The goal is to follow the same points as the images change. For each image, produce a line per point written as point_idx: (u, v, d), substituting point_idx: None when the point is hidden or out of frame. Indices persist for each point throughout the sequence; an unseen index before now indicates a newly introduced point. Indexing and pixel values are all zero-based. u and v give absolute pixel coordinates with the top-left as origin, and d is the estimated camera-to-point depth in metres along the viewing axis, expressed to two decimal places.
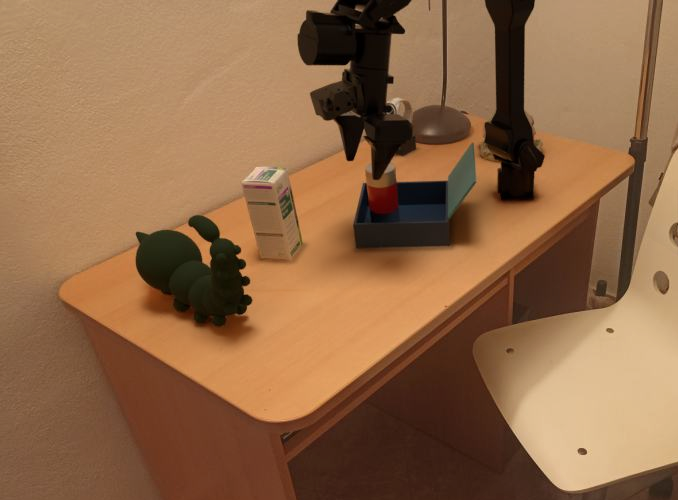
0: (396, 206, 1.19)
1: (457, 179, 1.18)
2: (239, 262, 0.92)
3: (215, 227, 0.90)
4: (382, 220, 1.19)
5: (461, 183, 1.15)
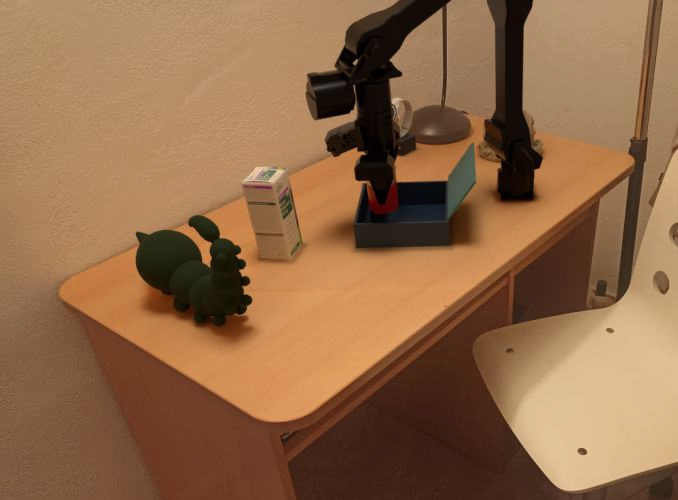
0: (396, 206, 1.19)
1: (457, 179, 1.18)
2: (239, 262, 0.92)
3: (215, 227, 0.90)
4: (382, 220, 1.19)
5: (461, 183, 1.15)
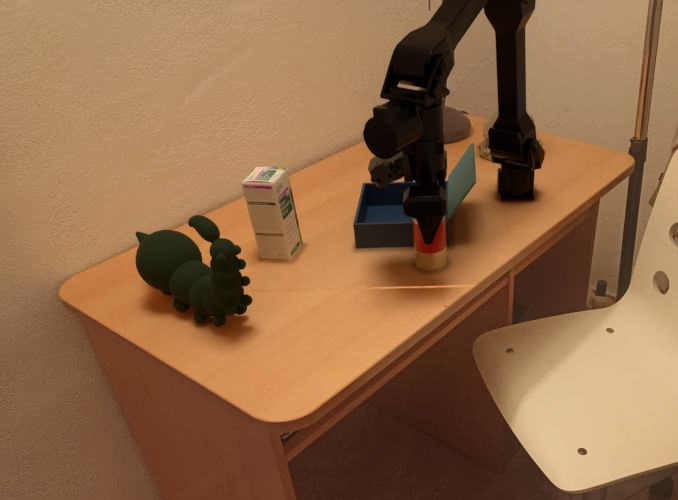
0: (444, 245, 1.09)
1: (457, 179, 1.18)
2: (239, 262, 0.92)
3: (215, 227, 0.90)
4: (428, 260, 1.09)
5: (461, 183, 1.15)
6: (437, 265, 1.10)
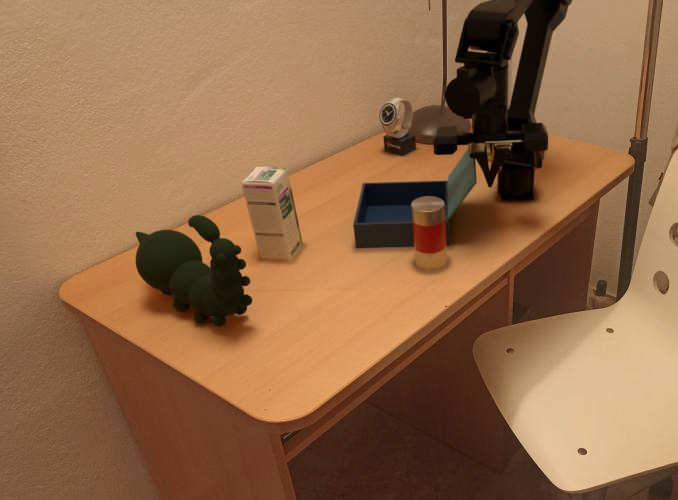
0: (444, 245, 1.09)
1: (457, 179, 1.18)
2: (239, 262, 0.92)
3: (215, 227, 0.90)
4: (428, 260, 1.09)
5: (461, 183, 1.15)
6: (437, 265, 1.10)
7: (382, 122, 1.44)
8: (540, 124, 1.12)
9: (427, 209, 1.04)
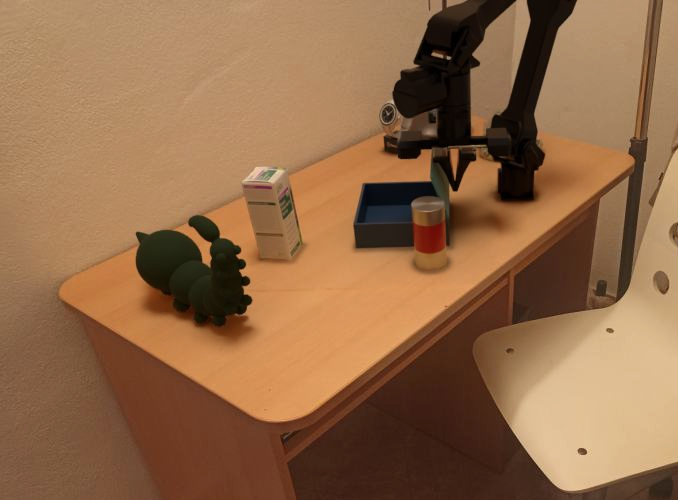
0: (444, 245, 1.09)
1: None
2: (239, 262, 0.92)
3: (215, 227, 0.90)
4: (428, 260, 1.09)
5: None
6: (437, 265, 1.10)
7: (382, 122, 1.44)
8: (504, 129, 1.13)
9: (427, 209, 1.04)
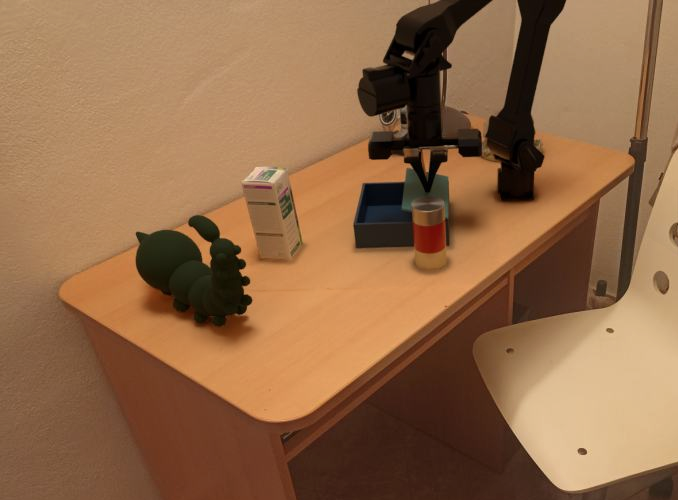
0: (444, 245, 1.09)
1: (430, 191, 1.19)
2: (239, 262, 0.92)
3: (215, 227, 0.90)
4: (428, 260, 1.09)
5: None
6: (437, 265, 1.10)
7: (382, 122, 1.44)
8: (475, 130, 1.13)
9: (427, 209, 1.04)
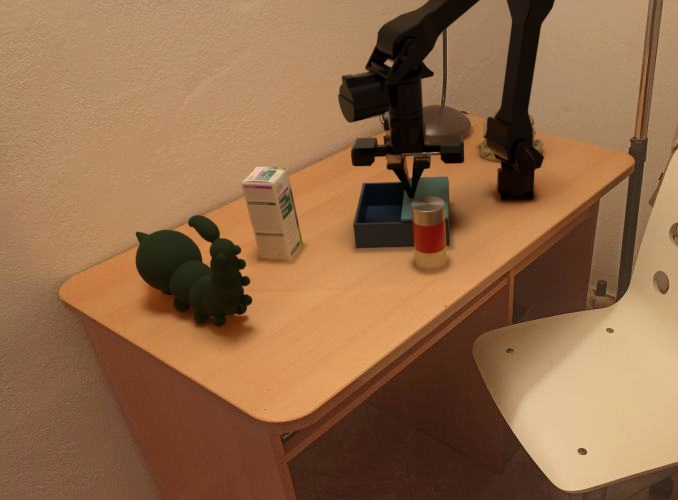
0: (444, 245, 1.09)
1: (430, 195, 1.20)
2: (239, 262, 0.92)
3: (215, 227, 0.90)
4: (428, 260, 1.09)
5: None
6: (437, 265, 1.10)
7: (382, 122, 1.44)
8: (458, 136, 1.13)
9: (427, 209, 1.04)
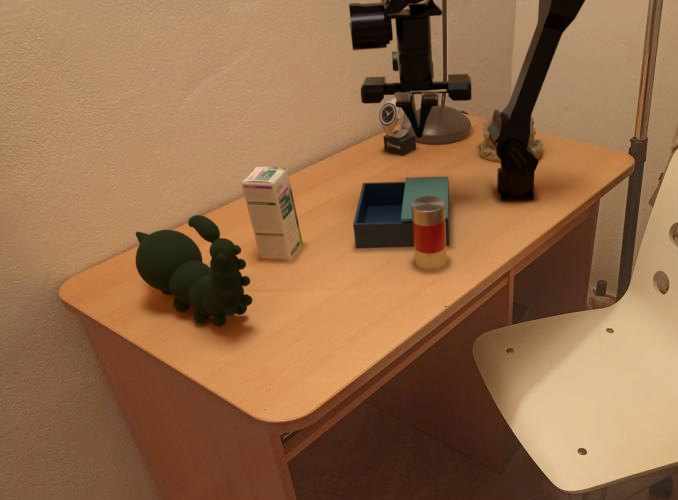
0: (444, 245, 1.09)
1: (430, 195, 1.20)
2: (239, 262, 0.92)
3: (215, 227, 0.90)
4: (428, 260, 1.09)
5: None
6: (437, 265, 1.10)
7: (382, 122, 1.44)
8: (465, 75, 1.16)
9: (427, 209, 1.04)
